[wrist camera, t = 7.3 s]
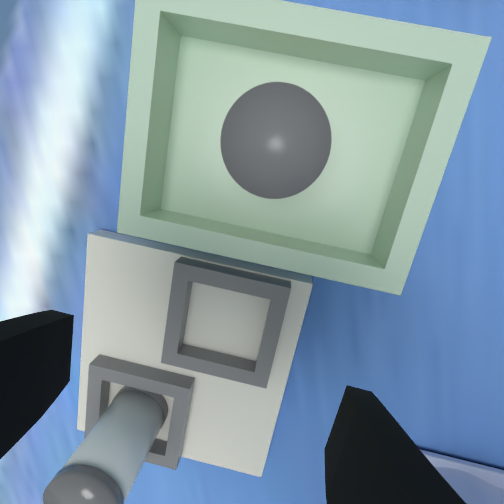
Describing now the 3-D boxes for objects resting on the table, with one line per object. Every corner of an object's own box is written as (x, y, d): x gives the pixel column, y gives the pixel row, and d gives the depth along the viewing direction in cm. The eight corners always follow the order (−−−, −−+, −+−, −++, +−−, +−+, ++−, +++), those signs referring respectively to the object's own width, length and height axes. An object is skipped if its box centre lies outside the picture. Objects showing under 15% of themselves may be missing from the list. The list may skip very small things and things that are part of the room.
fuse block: (311, 276, 17) (314, 291, 15) (262, 460, 21) (259, 493, 19) (100, 229, 18) (75, 237, 16) (88, 415, 22) (66, 442, 19)
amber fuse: (324, 122, 15) (345, 94, 9) (305, 193, 16) (314, 209, 10) (254, 107, 15) (231, 71, 9) (240, 178, 16) (211, 185, 10)
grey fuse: (171, 390, 19) (119, 489, 13) (164, 434, 20) (113, 544, 14) (117, 377, 19) (43, 468, 13) (113, 421, 20) (42, 525, 14)
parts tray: (450, 63, 14) (491, 37, 11) (381, 273, 17) (400, 295, 14) (166, 12, 15) (137, -25, 12) (145, 221, 18) (116, 232, 15)
